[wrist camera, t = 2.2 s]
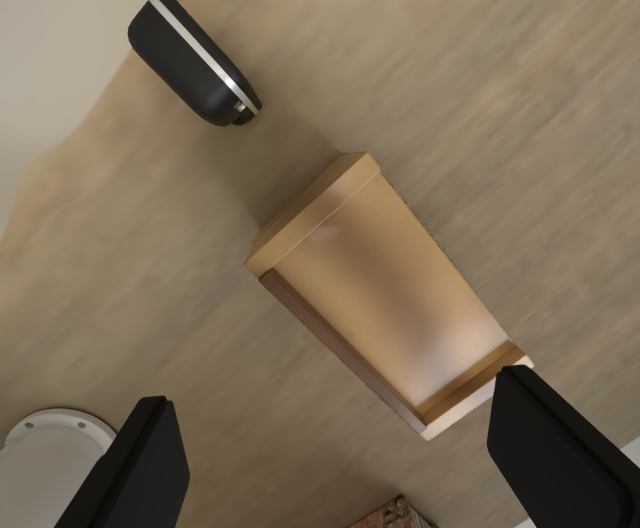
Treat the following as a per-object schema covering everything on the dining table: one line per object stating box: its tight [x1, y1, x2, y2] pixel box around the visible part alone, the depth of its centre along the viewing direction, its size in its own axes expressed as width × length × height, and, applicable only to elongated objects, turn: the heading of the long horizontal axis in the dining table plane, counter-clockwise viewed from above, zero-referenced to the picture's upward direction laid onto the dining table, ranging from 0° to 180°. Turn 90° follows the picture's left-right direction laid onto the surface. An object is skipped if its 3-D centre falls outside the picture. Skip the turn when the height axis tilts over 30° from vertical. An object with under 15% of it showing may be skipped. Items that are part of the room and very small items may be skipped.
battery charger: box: [128, 0, 262, 127], centre depth 24 cm, size 7×4×11 cm, turn 44°
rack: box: [244, 152, 535, 442], centre depth 30 cm, size 11×22×12 cm, turn 42°
